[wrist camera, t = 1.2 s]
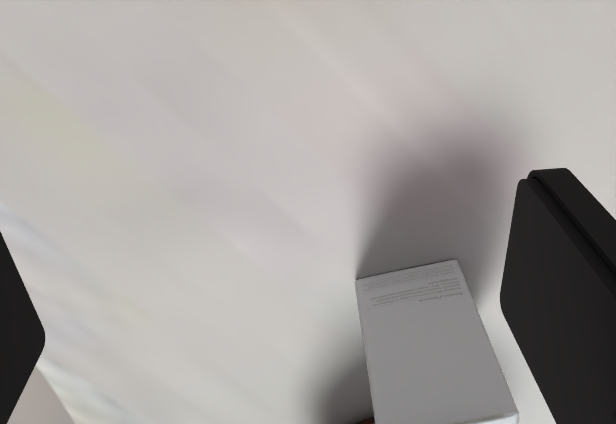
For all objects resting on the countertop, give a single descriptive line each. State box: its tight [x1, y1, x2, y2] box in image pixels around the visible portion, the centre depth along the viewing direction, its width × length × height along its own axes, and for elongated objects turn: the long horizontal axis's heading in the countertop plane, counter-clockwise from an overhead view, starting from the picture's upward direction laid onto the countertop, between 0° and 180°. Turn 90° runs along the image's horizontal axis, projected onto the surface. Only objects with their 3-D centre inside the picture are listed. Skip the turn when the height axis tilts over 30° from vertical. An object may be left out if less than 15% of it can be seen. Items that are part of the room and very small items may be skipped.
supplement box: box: [355, 260, 519, 424], centre depth 34 cm, size 7×7×13 cm
